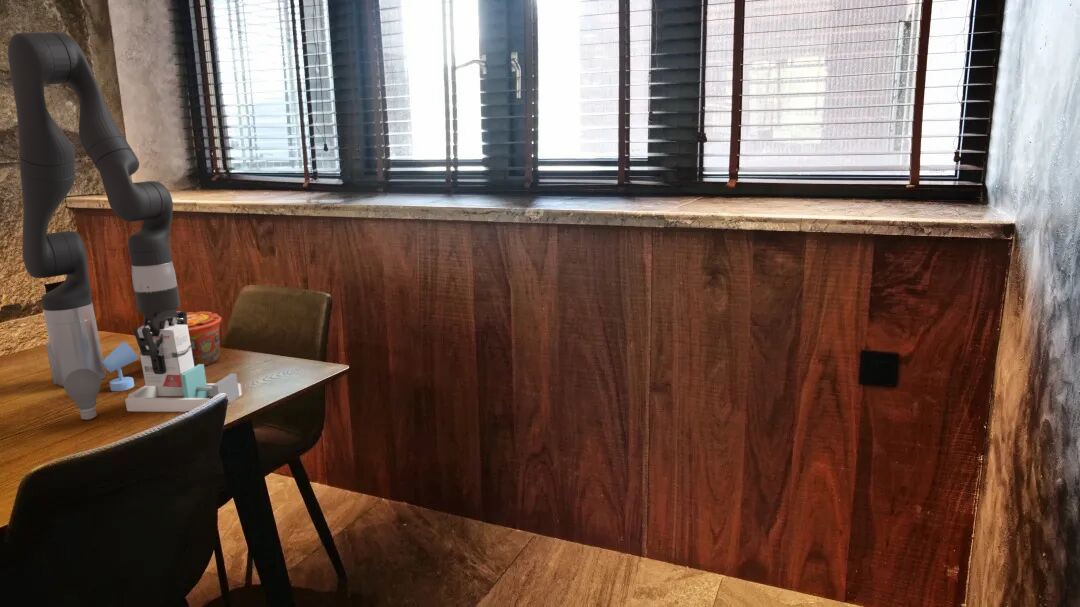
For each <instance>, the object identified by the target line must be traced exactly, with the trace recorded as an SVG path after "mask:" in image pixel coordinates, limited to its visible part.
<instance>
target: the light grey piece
mask: <svg viewBox="0 0 1080 607" xmlns="http://www.w3.org/2000/svg"><path fill="white" fill-rule="evenodd" d="M237 376H238V375H237V373H231V372H230V373H229V374H228V375H226V376H225V377H223V378H221V379H220V380H218V381H217V382H215V383H214V382H212V383H210V382H209V383H207V382H206V383H207V387H212V391H208V396H207V397H206V398H184V395H183V389H182V387H164V386H146V384H145V385H144V386H141V387H140V388H138V389H137V390H135V391H133V392H131V393H129V394H128V395H127V397H126V398H125V399H124V401H125V406H126V411H127V412H171V413H172V412H173V413H174V412H175V413H176V412H182V413H183V412H186V411H189V410H191V409H193V408H195V407H197V406H199V405H201V404H202V403H204V402H205V401H207V400H209V399H210V398H211V397H212V398H213V397H214V396H215V395H217V394H219V393H226V394H227V395H228V397H229V401H230V404H231V403H233V402H234V401H235V400H237V399H238V398H239V397H241V396H242V394H243V393H242V384H241V383H239V382H238V377H237Z"/></svg>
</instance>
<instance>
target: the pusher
mask: <svg viewBox="0 0 1080 607" xmlns="http://www.w3.org/2000/svg"><path fill="white" fill-rule="evenodd" d="M180 376H181V382H182V389H183V395H184V396H183V398H208V397H209V396H208V391H212V387H207V378H206V370H205V366H204V364H198V365H197V366H195V367H193V368H192V369H190V370H188V371H186V372H185V373H183V374H181V375H180Z"/></svg>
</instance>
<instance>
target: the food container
mask: <svg viewBox="0 0 1080 607" xmlns="http://www.w3.org/2000/svg"><path fill="white" fill-rule="evenodd" d="M186 313H187V325H188V331H189V337H190V343H191V349H192V355H193V361H194V367H195V366H197V365H198V364H204V367H207V366H211V365H213V364H215V363H216V362H218V361H219V360H220V358H221V356H220V355H221V349H220V347H221V343H220V338H221V337H220V336H221V335H220V325H221V323H222V321H223V320H222V317H221V316H220V315H219V314H218V313H215V312H214V313H213V312H212V311H201V310H200V311H197V312H193V311H188V312H187V311H186Z"/></svg>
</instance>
